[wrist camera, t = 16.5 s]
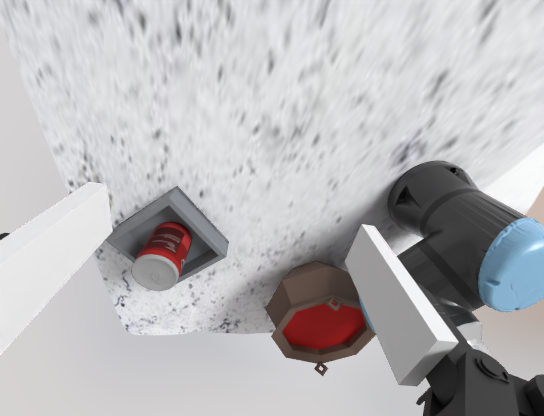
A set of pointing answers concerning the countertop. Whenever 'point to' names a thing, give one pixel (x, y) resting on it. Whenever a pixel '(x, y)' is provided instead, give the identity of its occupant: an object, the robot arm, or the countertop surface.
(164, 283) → the canned food
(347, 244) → the countertop surface
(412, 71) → the countertop surface
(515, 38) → the countertop surface
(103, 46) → the countertop surface
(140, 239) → the bin
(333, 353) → the brown cooking pot
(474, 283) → the robot arm
